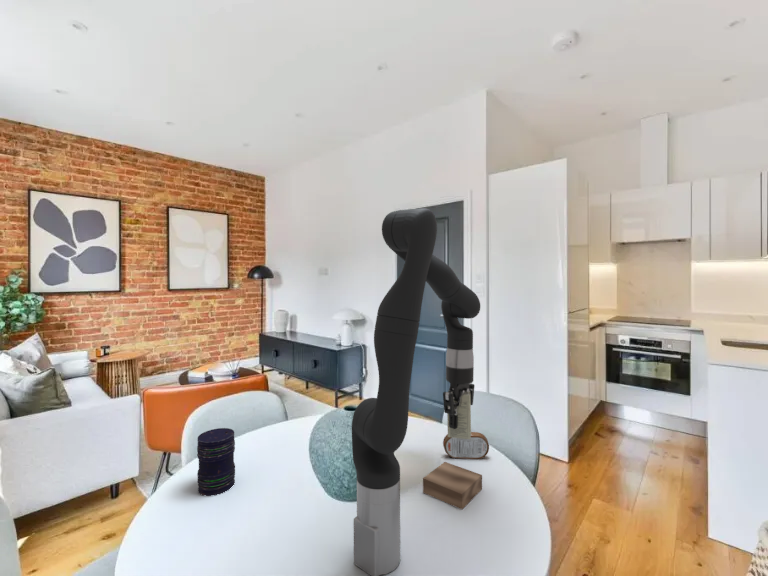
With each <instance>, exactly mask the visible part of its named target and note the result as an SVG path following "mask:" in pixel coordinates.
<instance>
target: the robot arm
mask: <svg viewBox="0 0 768 576" xmlns="http://www.w3.org/2000/svg"><path fill="white" fill-rule="evenodd" d="M437 233H438V224H437V218H436V215H435V214H434V212H433V211H432V210H431V209H429V208H426V207H421V208H420V207H418V208H409V209H399V210H394V211H391V212H389V213H387V214H386V215H385V217H384V218H383V221H382V223H381V235H382V238H383V241H384V242H385V244H386V245H387V247H388V248H389V249H390V250H391V251H392V252H393V253H394V254H396V255H397V256H398V257H400V258H401V259H402V260H403V261H404V264H403V268H402V270H401V272H400V274H399V275H398V278H397V279H396V280H395V282H394V283H393V284H392V285H391V287H390V288H389V290H388V291H387V293H386V294H385V295H384V297H383V299H382V300H381V302H380V303H379V306H378V309H377V315H376V319H375V325H374V332H373V345H374V346H373V347H374V352H375V358H376V364H377V370H378V389H377V396H376V397H369V398H366V399H363V400H362V401H361V402H360V403H358V405H357V406H356V407H355V410H354V412H353V415H352V420H351V446H352V461H353V465H354V468H355V471H356V516H355V517H354V518H353V564H354V565H356V566H357V567H358V568H360V569H361V570H362V571H364V572H365V573H367V574H368V575H370V576H381V575H387V574H389V573H392V572H393V571H394V570H395V569H397V568H398V566H399V565H400V562H401V466H400V462H399V461H398V459H397V457H396V455H395V454H394V453H395V452H396V451H397V450H398V449H399V448H401V446H402V444H403V442H404V440H405V437H406V434H407V432H408V431H407V430H408V423H409V408H410V406H409V405H410V389H411V379H412V372H413V367H414V366H413V364H414V357H415V349H416V345H417V339H418V334H419V327H420V320H421V314H422V313H421V311H422V305H423V298H424V295H425V294H424V293H425V287H426V283H427V284H428V285H429V287H430V288H431V289H432V291H433V292H434V294H435V295H436V296H437V297H438V299H440V300H441V303H440V304H441V305H440V307H441V313H442V317H443V321H444V323H445V328H446V334H447V336H446V337H447V339H446V341H447V342H446V343H447V344H446V348H447V349H446V355H445V362H446V363H445V381H447V382H448V383H449V389H448V391H443V392H442V400H443V401H442V402H443V409H444V410H443V412H444V413H445V414H447V413H448V414H449V427H450V428H453V429H456V428H457V427H458V415H457V414H458V410H459V407H461V404H462V397H463V395H464V393H465V392H469V391H470V400H471V406H473V405H474V395H475V384H474V383H473V382H474V370H475V369H474V368H475V367H474V363H475V362H474V359H475V357H474V356H475V355H474V349H473V348H474V332H473V329H472V328H470V327H469V326H465V325H463V324H461V323H460V320H459V319H470V320H471V319H474V318H476V317H477V316H478V315H479V313H480V311H481V301H480V299H479V297H478V295H477V294H476V293H475V292H474V291H473V290H472V289H471V288H469V287H468V286H467V285H466V284H464V283H462V281H460V279H459V278H458V275H456V273H455V271H454V270H453V269H452V268H451V267H450V266H449V264H447V263H446V262H445V261H443V260H442V259H440V258H439V257H437V256H436V255H434V250H435V245H436V240H437ZM454 400H455V401H457V402H458V403H454ZM448 406H449V408H448ZM454 406H455V410H454Z"/></svg>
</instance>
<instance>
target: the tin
mask: <svg viewBox="0 0 768 576" xmlns="http://www.w3.org/2000/svg"><path fill="white" fill-rule="evenodd" d="M442 444H443V445H442V447H443V448H444V451H445V453H446V455H448V456H449V457H450V458H453V459H468V460H481V459H484V458H485V457H486V456H487V455H488V454H489V451H490V445H489V441H488V438H487V437H486V436H485V435H484V434H483V433H480V432H478V431H474V432H473V431H471V438H470V439H462V438H452V437H448V433H446V435H445V436H444V438H443V439H442Z"/></svg>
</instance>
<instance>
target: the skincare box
mask: <svg viewBox="0 0 768 576" xmlns="http://www.w3.org/2000/svg"><path fill="white" fill-rule="evenodd" d="M454 403H458V402H457V401H455V400H454ZM471 406H472V405H471V400H470V391H469V392H465V393H464V395H463V397H462V404H461V407H459V410H458V414H457V415H458V427H457V428H456V429H453V428H450V427H449V414H448V413H446V414H447V417H446V418H447V434H448V437H452V438H462V439H470V438H471V432H472V417H471V415H472V413H471V412H472V410H471V408H472V407H471ZM448 408H449V406H448ZM454 410H455V406H454Z"/></svg>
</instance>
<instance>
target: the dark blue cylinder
mask: <svg viewBox="0 0 768 576" xmlns="http://www.w3.org/2000/svg"><path fill="white" fill-rule="evenodd" d="M235 441H236V440H235V430H234V429H232V428H228V427H222V428H221V427H220V428H214V429H209V430H206V431H204V432H202V433H200V434H199V435H198V436H197V446H196V450H197V452H196V453H197V454H196V455H197V459H198V470H197V474H196V476H197V486H198V487H197V492H198V494H199V493H200V494H199V495H201V494H202V495H201V496H204V495H206V496H205V497H211V495H214V496H218V495H217V494H219V495H221V493H222V494H224V493H226V492H225V491H227V490H228V491H230V490H231V489H232V488H233V487H234V486H235V484H234V483H235V481H236V480H235V477H236V476H235V475H236V464H235V460H234V459H235V457H234V456H235V455H234V453H235V450H236V447H235V445H236V442H235ZM233 485H234V486H233ZM232 486H233V487H232ZM231 487H232V488H231ZM230 488H231V489H230ZM229 489H230V490H229ZM228 491H227V492H228ZM223 492H224V493H223Z"/></svg>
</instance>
